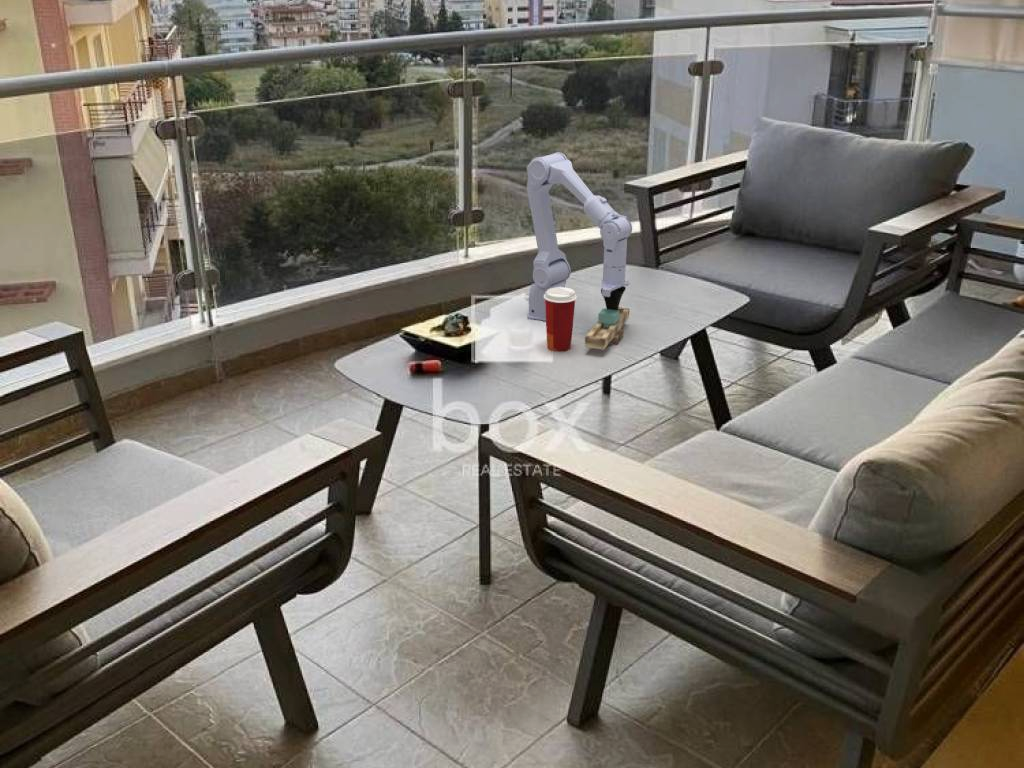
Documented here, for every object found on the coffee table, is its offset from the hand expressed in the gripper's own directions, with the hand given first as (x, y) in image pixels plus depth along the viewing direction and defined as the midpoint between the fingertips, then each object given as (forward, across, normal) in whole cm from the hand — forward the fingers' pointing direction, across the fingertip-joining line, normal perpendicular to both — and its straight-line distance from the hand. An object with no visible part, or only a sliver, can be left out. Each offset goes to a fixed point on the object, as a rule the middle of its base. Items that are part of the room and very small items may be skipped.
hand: (612, 314), depth 264 cm
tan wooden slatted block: (+6, -4, 0) cm, 7 cm away
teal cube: (+2, -3, 0) cm, 4 cm away
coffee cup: (+6, -14, +10) cm, 18 cm away
